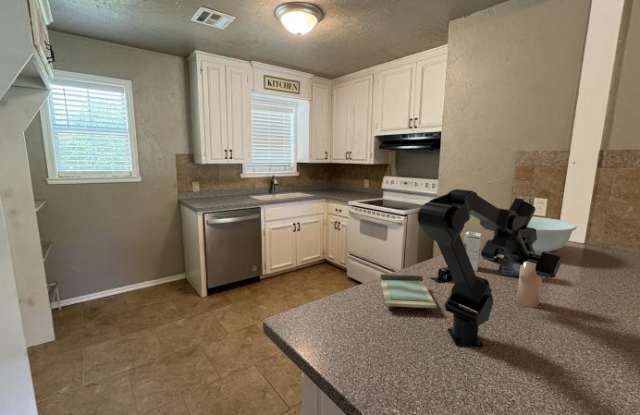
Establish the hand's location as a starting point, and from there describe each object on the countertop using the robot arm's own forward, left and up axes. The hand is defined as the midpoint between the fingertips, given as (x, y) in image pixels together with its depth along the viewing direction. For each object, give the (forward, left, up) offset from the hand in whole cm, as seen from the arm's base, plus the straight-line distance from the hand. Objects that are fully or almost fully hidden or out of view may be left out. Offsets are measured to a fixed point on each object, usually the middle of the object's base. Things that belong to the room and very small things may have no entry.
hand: (525, 271), depth 88 cm
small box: (+25, -11, -11) cm, 29 cm away
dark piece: (+19, +17, -12) cm, 28 cm away
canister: (+2, -3, -11) cm, 11 cm away
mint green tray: (+1, +34, -11) cm, 36 cm away
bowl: (+56, -33, -11) cm, 66 cm away
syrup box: (+31, +3, -11) cm, 33 cm away
